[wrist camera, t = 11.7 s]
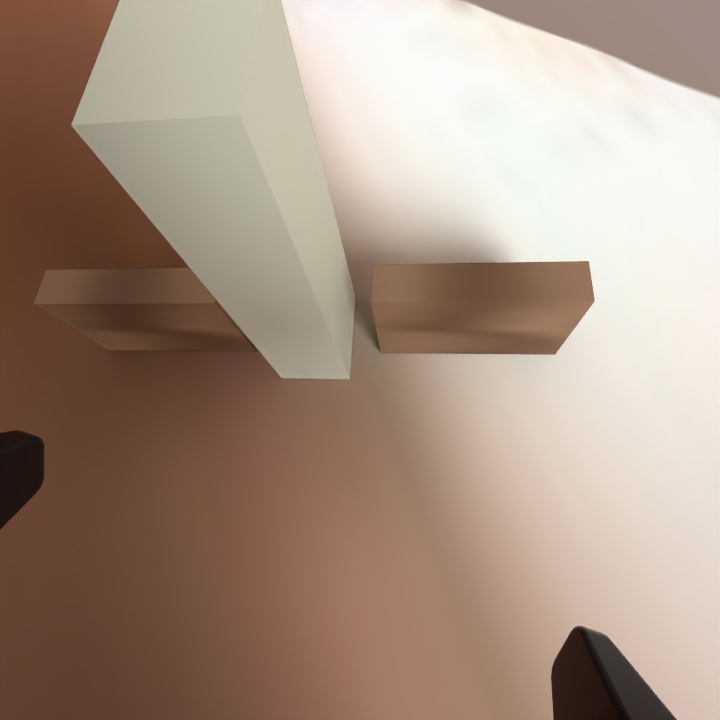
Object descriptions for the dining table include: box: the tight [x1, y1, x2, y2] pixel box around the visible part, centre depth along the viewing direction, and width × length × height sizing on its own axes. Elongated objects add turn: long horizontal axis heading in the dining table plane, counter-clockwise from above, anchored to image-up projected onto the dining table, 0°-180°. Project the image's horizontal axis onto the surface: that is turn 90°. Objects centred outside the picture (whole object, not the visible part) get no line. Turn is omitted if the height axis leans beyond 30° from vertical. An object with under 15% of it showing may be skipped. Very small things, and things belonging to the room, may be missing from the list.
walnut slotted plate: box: [34, 261, 594, 354], centre depth 18 cm, size 20×2×4 cm, turn 87°
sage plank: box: [71, 0, 355, 379], centre depth 14 cm, size 4×3×13 cm
